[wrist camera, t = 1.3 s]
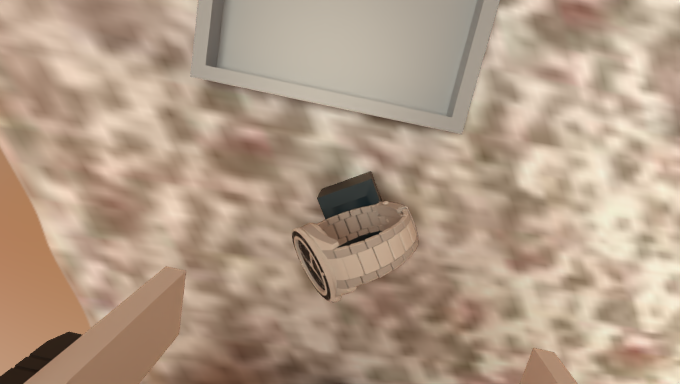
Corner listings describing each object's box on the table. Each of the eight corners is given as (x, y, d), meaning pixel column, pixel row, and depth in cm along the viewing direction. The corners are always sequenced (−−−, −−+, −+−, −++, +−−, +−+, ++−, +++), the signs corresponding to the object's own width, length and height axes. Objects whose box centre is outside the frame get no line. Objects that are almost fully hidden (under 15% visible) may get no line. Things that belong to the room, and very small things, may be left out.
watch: (300, 196, 31) (266, 245, 20) (391, 163, 30) (406, 196, 19) (324, 255, 32) (304, 331, 21) (413, 226, 31) (439, 290, 20)
